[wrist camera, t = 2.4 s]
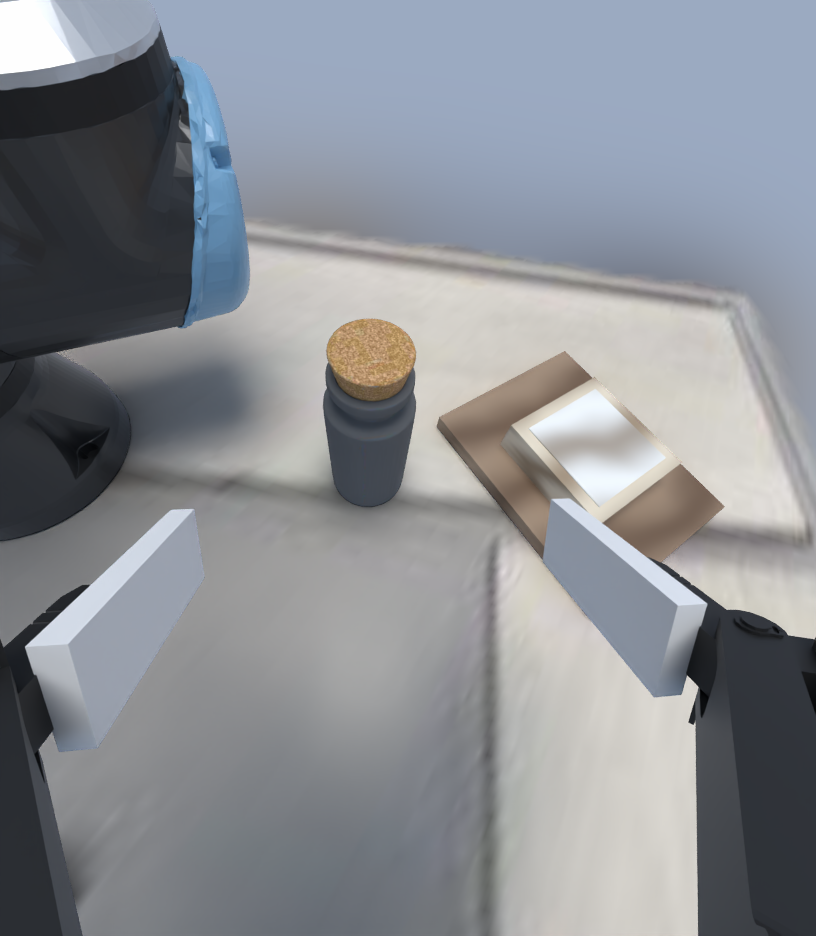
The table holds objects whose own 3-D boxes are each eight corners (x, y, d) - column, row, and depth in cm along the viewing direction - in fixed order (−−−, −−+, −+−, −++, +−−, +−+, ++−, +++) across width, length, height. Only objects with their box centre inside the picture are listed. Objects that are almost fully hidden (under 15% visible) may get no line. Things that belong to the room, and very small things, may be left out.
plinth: (436, 426, 38) (445, 395, 34) (558, 361, 43) (579, 328, 39) (589, 617, 31) (623, 608, 27) (711, 513, 36) (755, 492, 32)
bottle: (396, 442, 37) (416, 307, 23) (407, 503, 34) (436, 390, 21) (330, 448, 36) (311, 312, 22) (336, 511, 33) (318, 399, 20)
